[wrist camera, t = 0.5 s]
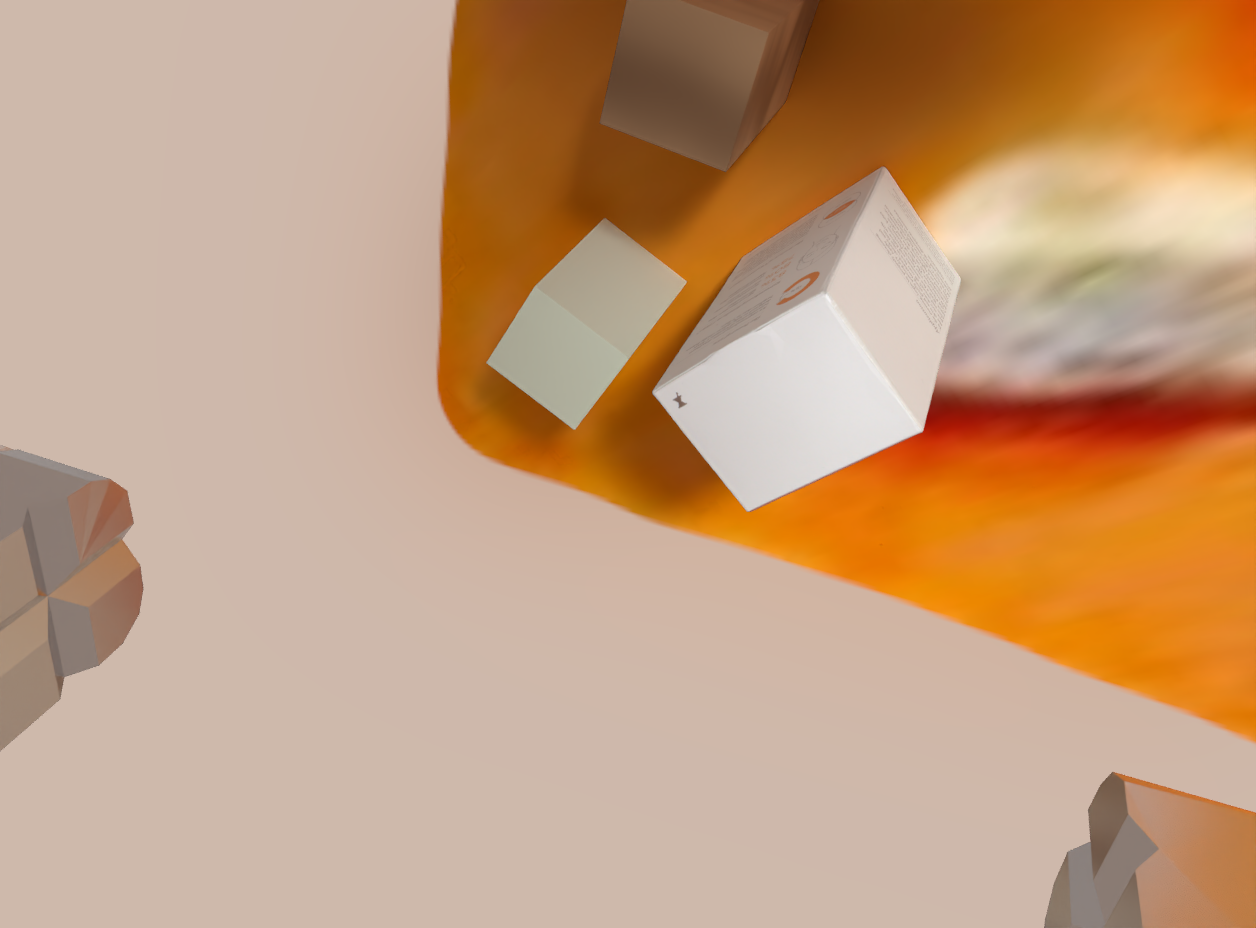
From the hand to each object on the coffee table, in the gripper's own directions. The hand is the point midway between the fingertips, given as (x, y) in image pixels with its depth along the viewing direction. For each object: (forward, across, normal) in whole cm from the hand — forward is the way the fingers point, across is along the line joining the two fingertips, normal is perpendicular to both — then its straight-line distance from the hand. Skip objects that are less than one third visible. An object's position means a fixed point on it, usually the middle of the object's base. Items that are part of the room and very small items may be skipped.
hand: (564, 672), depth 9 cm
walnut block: (+40, +7, +1) cm, 41 cm away
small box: (+41, +1, +10) cm, 43 cm away
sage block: (+42, +11, +14) cm, 46 cm away
